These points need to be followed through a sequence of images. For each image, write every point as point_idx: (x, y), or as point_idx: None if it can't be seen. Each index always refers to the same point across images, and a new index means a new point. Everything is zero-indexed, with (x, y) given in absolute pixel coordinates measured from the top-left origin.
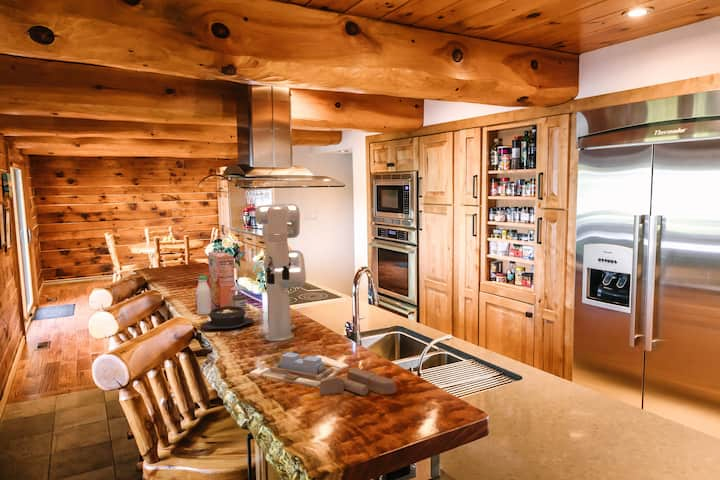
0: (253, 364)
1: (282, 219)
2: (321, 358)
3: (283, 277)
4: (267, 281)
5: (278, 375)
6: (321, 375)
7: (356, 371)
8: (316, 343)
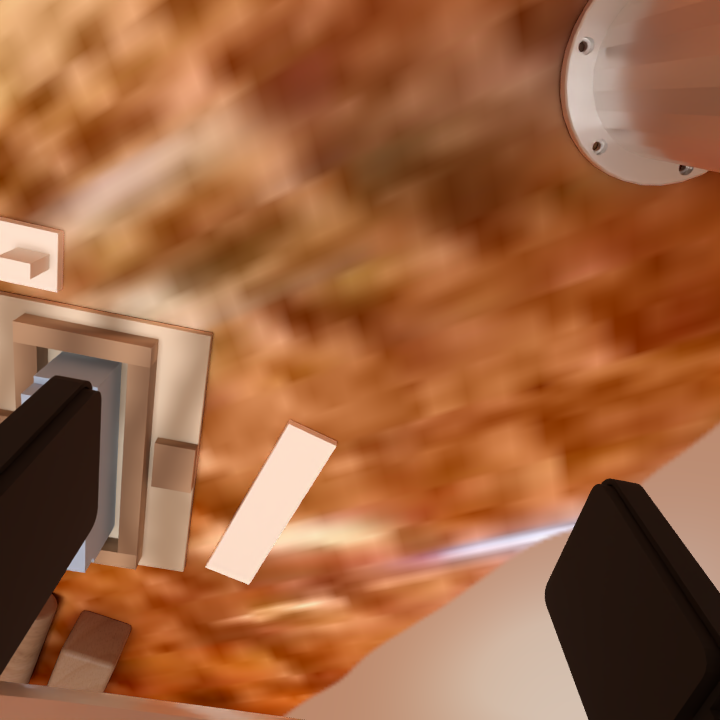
0: (104, 152)
1: None
2: (290, 469)
3: (601, 537)
4: (39, 401)
5: (2, 367)
6: None
7: (69, 679)
8: (552, 361)
